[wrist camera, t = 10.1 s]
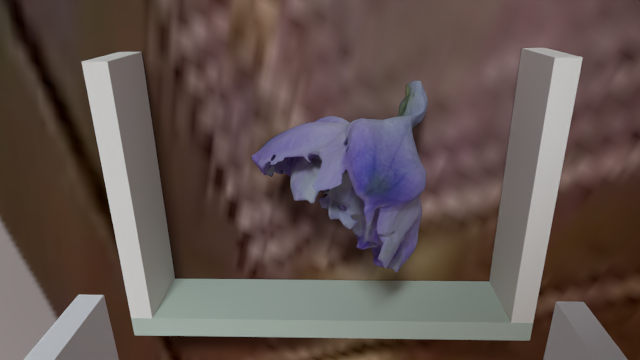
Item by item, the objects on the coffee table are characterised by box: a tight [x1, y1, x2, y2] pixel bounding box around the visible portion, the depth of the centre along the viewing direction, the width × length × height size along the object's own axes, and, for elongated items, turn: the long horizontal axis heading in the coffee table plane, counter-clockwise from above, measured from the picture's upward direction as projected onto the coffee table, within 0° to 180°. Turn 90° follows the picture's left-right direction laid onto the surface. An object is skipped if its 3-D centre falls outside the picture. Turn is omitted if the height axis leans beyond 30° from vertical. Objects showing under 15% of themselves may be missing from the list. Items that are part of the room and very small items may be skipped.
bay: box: [82, 48, 583, 341], centre depth 26 cm, size 15×22×4 cm
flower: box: [251, 81, 428, 273], centre depth 23 cm, size 9×9×10 cm
